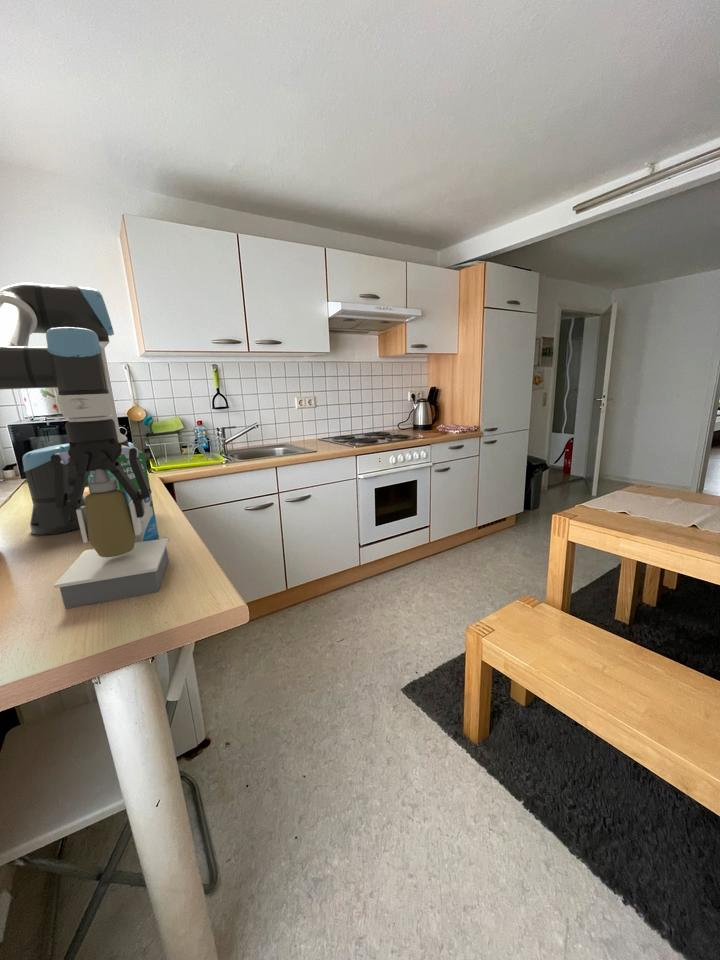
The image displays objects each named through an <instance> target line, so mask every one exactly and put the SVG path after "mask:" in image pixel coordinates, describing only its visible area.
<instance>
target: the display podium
mask: <svg viewBox="0 0 720 960" xmlns="http://www.w3.org/2000/svg"><path fill="white" fill-rule="evenodd" d="M168 542H169V538H168V537H166V538H160V539H159V538H158V539H154V540H151V541H144V542H137V543H134V548H133V549H132V550H131V551H130V552H128V553H125V554H122V555H119V556H115V557H101V556H99V555H98V553H97V552H96V551H95V549H94V548H91V549H85V550H83V551H82V553H81V554H79V556H78V557H77V558H76V559H75V560H74V562H73V563H72V564H71V565H70V567H69V568H67V570H66V571H65V572H64V573H63V574H62V575H61V577H60V578H59V579H57V581H56V582H55V583H54V589H58V588H59V591H60V595H61V598H62V603H63V606H64V609H73V608H77V607H83V606H87V605H93V604H99V603H104V602H110V601H114V600H120V599H121V600H122V599H125V598H131V597H132V598H133V597H135V596H141V595H146V594H147V595H148V594H152V593H158V592H159V591H160V588H161V584H162V582H163V578H164V576H165V573H166V570H167V566H168V564H169V560H170V559H169V554H168V549H167V548H168V547H167V545H168Z"/></svg>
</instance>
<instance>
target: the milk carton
mask: <svg viewBox="0 0 720 960" xmlns="http://www.w3.org/2000/svg"><path fill="white" fill-rule="evenodd" d="M121 446H122V447H128V446H124V445H121ZM139 460H140V463H141V465H142V468H143V470H144V473H145V476H146V478H147V481H148V483H149V486H150V487H151V484H150V479H149V473H148V467H147V462H146V455H145V451H142V450H139ZM117 461H118V462H119V463H120V465H121V466H122V469H123V470H124V471H125V473H126V474H127V476H128V477H129V478H130V480H131V481H132V482H133V484H134V485H135V486H136V488H137V489H138V491H139V492H140V493H141V490H140V488H139V485H138V483H137V480H136V478H135V475H134V472H133V470H132V467H131V465H130V461H129V459H127V458H126V457H125V454H124V453H121V455H120V456H119V458H118V460H117ZM94 471H95V470H94ZM94 471H90V473H89V476H88V479H87V482H88V483H90V482H93V481H94ZM106 471H107V473H108V475H109V478H110V479H116V477H115V476H114V475H113V474H112V473H111V472H110V471H109V469H106ZM116 480H117V479H116ZM117 485H118V488H117V489H120V490H123V491H124V492H125V495H126V498H127V502H128V505H129V503H130V502H131V501H132V499H131V497H130V496H129V495H128V493H127V492H126V491H125V489H124V488H123V487H122V485H121V484H120V483H119V481H118V480H117ZM90 493H91V492H89V494H90ZM153 502H154V500H153V496H152V493H151V494H150V496H149V497H148V498H145V499H143V507H144V512H145V513H144V516H143V517H140V522H141V527H142V532H141V533H140V535H137V536H136V538H135V543H137V542H144V541H151V540H157V538H159V537H160V536H159V530H158V529H159V528H158V526H157V525H158V524H157V520H156V519H157V518H156V513H155V508H154V503H153ZM129 508H130V506H129Z"/></svg>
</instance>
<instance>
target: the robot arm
mask: <svg viewBox="0 0 720 960" xmlns="http://www.w3.org/2000/svg"><path fill="white" fill-rule="evenodd" d="M32 334H45V337H46V339H45V340H46V343H47V346H29V340H30V337H31V335H32ZM114 335H115V332H114V328H113V325H112V321H111V318H110V315H109V312H108V309H107V305H106V303H105V300H104V298H103V294H102V292H100V291H99V290H97V289H95V288H91V287H84V286H79V285H78V286H77V285H76V286H72V285H62V284H61V285H59V284H45V283H44V284H43V283H34V282H21V283H15V284H14V283H13V284H11V285H7V286H4V287H1V288H0V390H20V389H23V390H25V389H50V388H51V389H54V388H57V392H58V399H59V403H60V409H61V412H62V416H63V419H65V420H68V421H66V423H65V424H64V427H65V430H66V436H67V441H68V443H63V444H56V445H55V444H54V445H51V446H47V447H41V448H37V449H34V450H31V451H28V452H26V453H25V454H23V456H22V465H23V466H22V467H23V472H24V473H25V478H26V481H27V486H28V489H29V494H30V497H31V501H32V510H31V515H30V516H31V518H30V523H29V526H30V530H31V533H32V534H33V535H37V536H43V535H44V536H45V535H55V534H61V533H62V532H63V533H66V531H68V532H72V531H75V530H74V529H76V530H78V528H79V530H80V534H81V538H82V542H83V544H87V543H90V542H89V537H88V527H87V516H86V505H85V497H84V492H85V488H89V487H88V482H87V479H88V476H89V473H90V471H94V470H97V469H101V470H106V469H109V471H110V472H111V473H112V474H113V475H114V476H115V477H116V479H117V480H118V481H119V483H120V484H121V485H122V487H123V488H124V489H125V491H126V492H127V493H128V495H129V496H130V497H131V499H132V501H131V502H130V503H129V506H130V511H131V517H132V522H133V527H134V532H135V536H137V535H140V533H141V532H142V527H141V522H140V517H143V516H144V513H145V512H144V507H143V499H145V498H148V497H149V496H150V494H151V495H152V489H151V485H150V486H149V484H150V482H149V483H148V481H147V478H146V476H145V473H144V470H143V468H142V465H141V463H140V460H139V451H140V448H139V446H135V445H134V443H132V442H130V441H128V437H127V436H126V435H124V434H122V433H121V430H120V425H119V420H118V415H117V410H116V409H117V408H116V405H115V399H114V393H113V388H112V387H113V386H112V383H111V378H110V377H111V376H110V372H109V367H108V361H107V357H106V356H107V355H106V350H105V348H106V347H107V346H108V345H109V344H110V337H111V336H114ZM121 445H124V446H128V447H122V446H121ZM121 453H124V454H125V457H126V458H127V459H129V461H130V465H131V467H132V470H133V472H134V475H135V478H136V480H137V483H138V485H139V488H140V490H141V493H140V492H139V491H138V489H137V488H136V486H135V485H134V484H133V482H132V481H131V480H130V478H129V477H128V476H127V474H126V473H125V471H124V470H123V469H122V466H121V465H120V463H119V462H118V461H117V460H118V458H119V456H120V455H121ZM71 530H72V531H71Z"/></svg>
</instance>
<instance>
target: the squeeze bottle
mask: <svg viewBox="0 0 720 960" xmlns="http://www.w3.org/2000/svg"><path fill="white" fill-rule="evenodd" d="M87 488H88V491H89V494H88V493H87V495H86V496H85V497H84V498H85V505H86V516H87V527H88V537H89V542H88V543H90V545H91V546H92V549H95V551H96V552H97V553H98V555H99V556H101V557H115V556H119V555H122V554H125V553H128V552H130V551H131V550H132V549H133V548H134V543H135V538H136V536H135V532H134V527H133V522H132V517H131V511H130V508H129V505H128V502H127V498H126V495H125V492H124V491H123V490H120V489H117V488H118V485H117V480H116V479H110V478H109V475H108V473H107V471H106V470H101V469H97V470H95V471H94V481H93V482H90V483H88V487H87ZM90 492H91V493H90Z"/></svg>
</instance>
